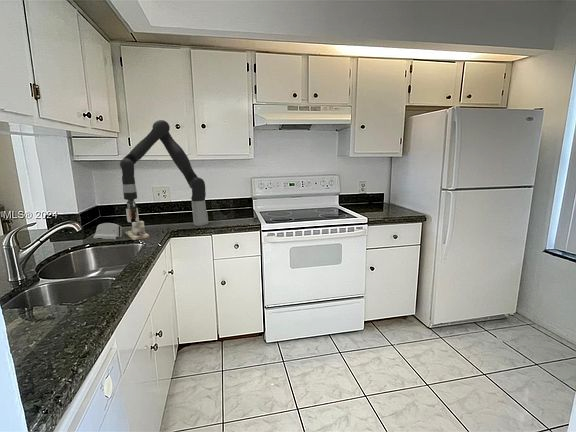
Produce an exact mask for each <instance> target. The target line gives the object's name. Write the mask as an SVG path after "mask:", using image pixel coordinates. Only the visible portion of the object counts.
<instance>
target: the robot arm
mask: <svg viewBox="0 0 576 432" xmlns="http://www.w3.org/2000/svg"><path fill="white" fill-rule="evenodd" d="M170 127H171V126H170V124H169V122H167V120H164V119H163V120H162V119H159V120H156V121H154V123H153V124H152V129H151V130H150V132H149V133H147V135H146V136H145V137H143V139H141V141H139V142H138V143H137V144H136V145H135V146H134V147H133V148H132V149H131V151H129V153H128V154H126V155H125V156H124V157H123V158H122V159H121V160H120V162H119V167H120V169H121V171H122V172H121V174H122V176H121V181H122V194H123V199H124V200H126V206H127V209H130V210H131V215H132V219H131V220H135V219H136V214H135V213H136V208H137V203H136V201H135V200H137V198H138V193H137V186H136V177H135V164H136V163H137V162H138V161H140V160H141V159H142V158H143V157H144V156H145V155H147V153H148V152H149V150H151V148H152V147H153V146H154V145H155V144H156V143H157V141H159V140H160V142H161V143H162V145H163V146H164V148H165V150H166V151H167V153H168V154H169V156H170V158H171V160H172V161H173V162H174V164H175V165H176V167H177V168H178V170H179V171H180V173H181V174H182V175H183V176H184V178H185V180H186V182H187V184H188V185H189V188H190V189H191V197H190V198H191V208H192V209H191V210H192V219H193V226H197V227H198V226H199V227H201V226H207V225H209V215H208V211H207V205H206V193H207V192H206V182H205V180H204V179H203V178H201V177H198V175H197V174H196V172H195V171H194V169H193V168H192V164H191V162H190V158H189V157H188V155H187V154H186V152H185V151H184V149H183V148H182V147H181V146H180V145H179V144H178V143H177V142H176V141H175V139H174V138H173V137H172V135H171V133H170ZM133 209H134V211H133Z"/></svg>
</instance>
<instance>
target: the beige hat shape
mask: <svg viewBox="0 0 576 432" xmlns="http://www.w3.org/2000/svg"><path fill="white" fill-rule="evenodd" d="M131 226H132V227H131V230H128V231H125V233H124V234H125V235H126V236H128V237H129V238H131V240H133V241H135V240H140V239H142V240H143V239H147V238H150V234H149V233H147V232H146V229H145V221H143V220H139V221H133V222H132V221H131Z"/></svg>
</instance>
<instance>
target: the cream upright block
mask: <svg viewBox="0 0 576 432" xmlns="http://www.w3.org/2000/svg"><path fill="white" fill-rule="evenodd" d="M133 211H134V209H133ZM125 212H126V220H127V223H132V220H133V219H132V215H131V210H130V209H128V208H125ZM135 214H136V219H134V220H135V222H138V221H140V218H139V217H140V216H139V208H138V207H136V213H135Z"/></svg>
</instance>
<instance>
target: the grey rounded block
mask: <svg viewBox="0 0 576 432" xmlns="http://www.w3.org/2000/svg"><path fill="white" fill-rule="evenodd" d="M122 228H123V227H122V226H121V225H119V224H117V223H111V222H103V223H99V224H98V225H97V226H96V228H95V229H96V230H95V234H94V235H93V237H92V238H93V239H97V238H102V239H101V240H116V239H117V238H122Z"/></svg>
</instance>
